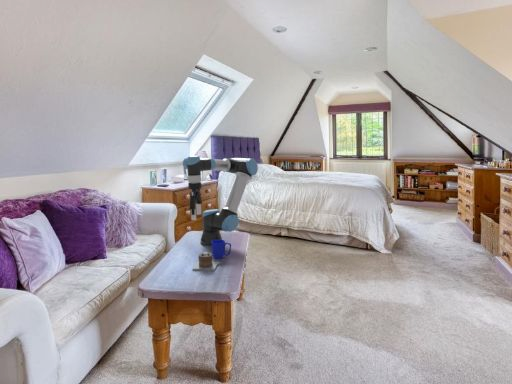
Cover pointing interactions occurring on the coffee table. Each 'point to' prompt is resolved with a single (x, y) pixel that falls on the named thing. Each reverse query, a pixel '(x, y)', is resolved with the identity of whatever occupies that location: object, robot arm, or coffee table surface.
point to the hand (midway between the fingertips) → (196, 217)
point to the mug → (219, 248)
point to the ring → (205, 260)
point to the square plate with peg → (198, 268)
